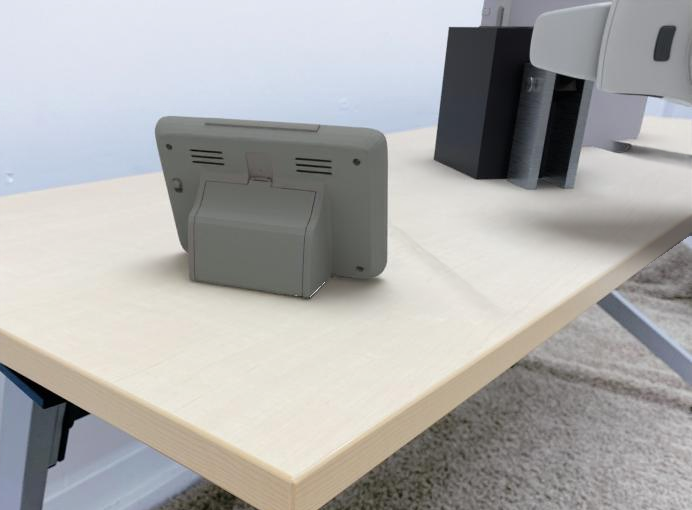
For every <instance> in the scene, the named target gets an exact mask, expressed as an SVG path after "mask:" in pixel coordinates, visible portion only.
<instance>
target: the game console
mask: <svg viewBox="0 0 692 510" xmlns="http://www.w3.org/2000/svg"><path fill="white" fill-rule="evenodd" d="M611 1H612V0H483V4H482V5H483V6H482V9H481V22H480V25H479V26H511V27H513V26H531V27H534V25H535V22H536V20H537V18H538V17H539V16H540V15H541V14H543V13H546V12H550V11H555V10H560V9H566V8H571V7H577V6H583V5H589V4H595V3H603V2H611ZM648 98H649V96H640V95H623V94H615V93H608V92H601V91H599V90H597V89H596V81H594V86H593V92H592V97H591V102H590V107H589V112H588V117H587V122H586V127H585V132H584V137H583V142H582V147H581V148H588V147H589V148H590V147H592V148H596V149H601V150H604V151H608V152H612V153H621V152H622V153H623V152H626V151H627V150H628V148H629V147H630V146H631V143H628V142H622V141H629V140H636V138H637V137H638V136H639V134H640V133H641V129H642V124H643V120H644V115H645V111H646V106H647V103H648V100H649V99H648Z"/></svg>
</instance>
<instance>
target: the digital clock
mask: <svg viewBox="0 0 692 510" xmlns="http://www.w3.org/2000/svg"><path fill="white" fill-rule="evenodd" d="M154 134H155V135H154V137H155V142H156V148H157V152H158V157H159V162H160V165H161V170H162V174H163V178H164V181H165V186H166V191H167V195H168V200H169V203H170V207H171V212H172V216H173V220H174V224H175V225H174V226H175V229H176V234H177V237H178V240H179V243H180V246H181V248H182V249H183V251H184V252H186V253H187V254H188V256H187V257H188V259H187V260H188V278H189V280H190V281H195V282H196V281H197V282H201V283H207V282H208V284H215V285H221V286H227V287H234V288H239V287H240V289H246V288H247V290H252V289H253V290H254V291H259V290H260V291H259V292H265V291H266V293H272V292H273V294H278V293H280V294H279V295H284V294H287V295H286V296H291V295H297V296H303V297H302V298H306V297H310V296H311V295H312V294H313V293H314V292H315V291H316V290H317V289H318V288H319V287H320V286H321V285H322V284H323V283H324V282H326V281H327V280H328V279H329V278H330V277H331V276H332V275H333V276H336V277H337V276H338V277H339V276H340V277H347V278H355V279H372V278H375V277H378V276H380V275H381V274H382V273H383V272H384V271H385V269H386V267H387V265H388V239H389V238H388V237H389V236H388V232H389V231H388V228H389V227H388V226H389V225H388V223H389V222H388V219H389V218H388V216H389V215H388V213H389V212H388V211H389V209H388V207H389V206H388V205H389V204H388V203H389V201H388V200H389V199H388V197H389V153H388V142H387V137H386V136H385V134H384V133H383V132H382V131H380V130H378V129H375V128H372V127H371V128H370V127H364V126H363V127H362V126H349V125H348V126H347V125H336V124H335V125H334V124H319V123H304V122H289V121H288V122H286V121H272V120H271V121H270V120H253V119H238V118H223V117H222V118H221V117H205V116H203V117H201V116H181V115H166V116H162V117H161V118H159V119H158V120H157V122H156V124H155V127H154ZM333 276H332V277H333ZM332 277H331V278H332ZM331 278H330V279H331ZM330 279H329V280H330ZM329 280H328V281H329ZM328 281H327V282H328ZM327 282H326V283H327ZM297 296H296V297H297Z"/></svg>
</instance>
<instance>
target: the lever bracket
mask: <svg viewBox="0 0 692 510" xmlns="http://www.w3.org/2000/svg"><path fill="white" fill-rule="evenodd" d="M555 78H556V73H554V72H551V71H547V70H544V69H540V68H537V67H535V66H533V65H532V63H526V64H525V68H524V74H523V80H522V87H521V93H520V99H519V106H518V112H517V118H516V125H515V131H514V137H513V144H512V150H511V156H510V163H509V169H508V175H507V179H506V182H508V183H511V184H514V185H515V186H518V187H520V188H523V189H525V190H537V187H538V181H539V178H538V175H539V169H540V164H541V158H542V152H543V147H544V141H545V135H546V129H547V124H548V118H549V112H550V107H551V101H552V95H553V90H554V84H555ZM593 86H594V81H591V80H585V79H579V78H577V79H576V88H577V90H576V91H575V92H573V93H572V94H570V95H569V96H568V97H566V98H565V99H563V100H562V101H561V102H556V105H555V111H554V116H553V122H552V128H551V133H550V139H549V145H548V150H547V156H546V161H545V167H544V173H543V178H541V180H542V181H544V182H547V183H549V184H551V185H554V186H557V187H559V188H562V189H563V190H566V189H570V190H571V189H574V187H575V182H576V178H577V173H578V169H579V161H580V156H581V152H582V148H583V147H582V142H583V137H584V132H585V127H586V122H587V117H588V112H589V107H590V102H591V97H592V92H593Z"/></svg>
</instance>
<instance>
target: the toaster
mask: <svg viewBox="0 0 692 510" xmlns="http://www.w3.org/2000/svg"><path fill="white" fill-rule="evenodd" d="M533 29H534V27H531V26H513V27H511V26H480V25H479V26H448V29H447V31H448V32H447V40H446V49H445V57H444V66H443V74H442V84H441V92H440V100H439V109H438V110H439V111H438V116H437V117H438V118H437V127H436V134H435V135H436V137H435V145H434V152H433V160H434V162H437V163H439V164H442V165H444V166H446V167H448V168H450V169H453V170H455V171H456V172H458V173H461V174H463V175H465V176H467V177H469V178H471V179H474V180H476V181H477V180H479V181H481V180H507V175H508V169H509V163H510V156H511V150H512V144H513V137H514V131H515V125H516V118H517V112H518V106H519V99H520V93H521V87H522V80H523V74H524V68H525V64H526V63H531V61H530V47H531V39H532V34H533ZM555 105H556V102H551V107H550V112H549V118H548V124H547V129H546V135H545V141H544V147H543V152H542V158H541V164H540V169H539V175H538V179H542V178H543V173H544V167H545V161H546V156H547V150H548V145H549V139H550V133H551V128H552V122H553V116H554V111H555Z"/></svg>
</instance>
